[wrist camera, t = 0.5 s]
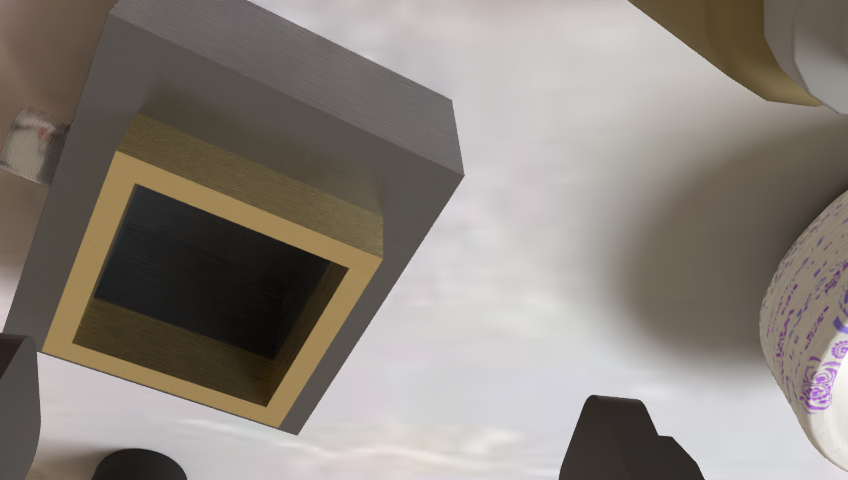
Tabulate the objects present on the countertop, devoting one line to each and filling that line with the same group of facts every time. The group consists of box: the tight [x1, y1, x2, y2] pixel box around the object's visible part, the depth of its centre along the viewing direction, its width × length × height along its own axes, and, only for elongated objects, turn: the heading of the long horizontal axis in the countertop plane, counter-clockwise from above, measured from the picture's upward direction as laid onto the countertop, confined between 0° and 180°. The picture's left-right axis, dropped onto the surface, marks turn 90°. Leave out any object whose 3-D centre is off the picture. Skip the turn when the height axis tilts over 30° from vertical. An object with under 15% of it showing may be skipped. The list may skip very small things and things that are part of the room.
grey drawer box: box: [0, 0, 465, 435], centre depth 30 cm, size 14×14×8 cm
